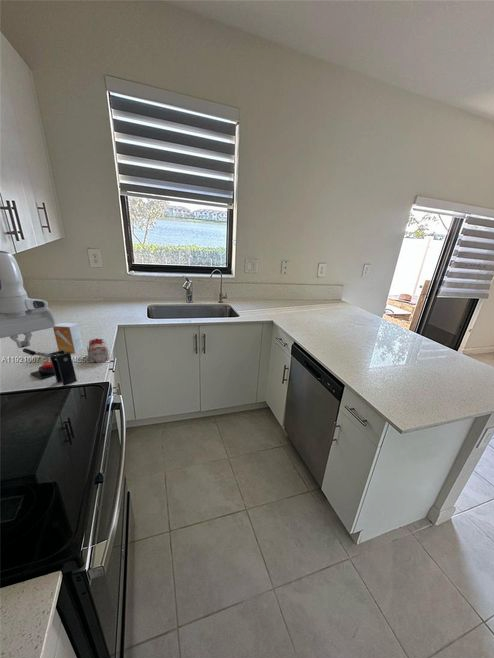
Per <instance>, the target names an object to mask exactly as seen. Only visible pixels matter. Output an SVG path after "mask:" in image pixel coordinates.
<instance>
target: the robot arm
mask: <svg viewBox="0 0 494 658" xmlns="http://www.w3.org/2000/svg"><path fill="white" fill-rule="evenodd" d="M55 325H57V322H56V320H55V316H54V314H53V311H52V310H51V309H50V308H49V304H48V301H47V300H44V299H39V298H34V297H28V293H27V291H26V289H25V288H24V279H23V276H22V273H21V270H20V266H19V264H18V262H17V260H16V258H15V257H14V255H13V254H11V253H9V252H7V251H4V250H0V339H4V338H10V339H11V340H12V341H13V342H15V343H16V346H17V348H19V349H24V348H28V347H31V342H30V341H31V339H32V336H33V334H32V333H33V332H39V331H43V330H48V329H53V327H54V326H55ZM20 335H24V336H25V337H24V340H19V336H20Z"/></svg>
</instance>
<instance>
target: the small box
mask: <svg viewBox="0 0 494 658" xmlns="http://www.w3.org/2000/svg"><path fill="white" fill-rule="evenodd" d="M79 326H80V325H79V323H74V322H73V323H72V322H59V323H56V324H55V326H54V327H53V328H52V330H53V334H54V338H55V341H56V345H57V349H58V351H61V350H63V351H64V353H68V352H69V353H70V354H76V353H78V352H80V351H82V350H83V349H84V344H83V340H82V336H81V331H80V327H79ZM82 348H83V349H82ZM81 349H82V350H81ZM79 350H80V351H79Z"/></svg>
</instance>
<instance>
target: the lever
mask: <svg viewBox="0 0 494 658" xmlns="http://www.w3.org/2000/svg"><path fill="white" fill-rule="evenodd" d="M22 352H23V353H25V354H27V355H30V356H40V357H45V358H50V357H51V358H54V360H56V356H57V355H60V354H58V353H56V355H52V354H50V353H46V352H40V351H36V350H32V349H29V348H28V347H23V348H22ZM56 361H57V360H56Z"/></svg>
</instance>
